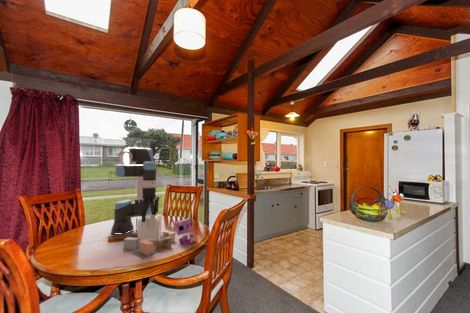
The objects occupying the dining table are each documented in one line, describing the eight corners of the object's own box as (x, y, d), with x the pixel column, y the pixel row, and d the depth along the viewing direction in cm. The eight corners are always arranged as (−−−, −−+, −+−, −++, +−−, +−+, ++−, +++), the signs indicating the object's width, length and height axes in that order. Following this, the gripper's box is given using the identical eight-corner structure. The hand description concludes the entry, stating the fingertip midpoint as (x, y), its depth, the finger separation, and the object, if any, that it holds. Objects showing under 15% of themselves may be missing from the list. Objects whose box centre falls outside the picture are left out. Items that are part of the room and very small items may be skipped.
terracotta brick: (139, 251, 129) (139, 241, 130) (145, 249, 133) (145, 239, 133) (147, 255, 125) (147, 244, 125) (153, 253, 128) (153, 242, 128)
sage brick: (141, 227, 131) (141, 217, 131) (147, 225, 134) (147, 215, 135) (149, 229, 127) (149, 219, 127) (155, 227, 130) (155, 217, 130)
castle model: (136, 242, 145) (137, 220, 145) (141, 235, 159) (141, 214, 159) (159, 241, 148) (159, 219, 148) (161, 234, 162) (162, 214, 162)
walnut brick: (158, 250, 133) (159, 241, 133) (156, 248, 136) (156, 239, 136) (171, 247, 138) (171, 238, 138) (168, 245, 141) (168, 236, 141)
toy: (190, 243, 142) (184, 221, 144) (179, 246, 143) (173, 224, 145) (196, 238, 152) (191, 217, 154) (186, 241, 154) (181, 220, 156)
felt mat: (130, 254, 127) (130, 253, 127) (149, 247, 137) (149, 246, 137) (142, 259, 120) (142, 258, 120) (161, 252, 130) (161, 251, 130)
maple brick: (162, 240, 150) (162, 231, 150) (167, 238, 153) (167, 230, 153) (170, 242, 146) (170, 233, 146) (174, 241, 149) (175, 232, 149)
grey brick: (123, 249, 134) (123, 239, 134) (127, 246, 138) (127, 237, 138) (135, 249, 134) (136, 240, 134) (139, 247, 138) (139, 237, 138)
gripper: (139, 189, 122) (138, 231, 121) (164, 186, 136) (164, 224, 135) (132, 188, 126) (131, 228, 125) (157, 185, 140) (156, 222, 140)
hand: (148, 226), depth 130 cm, fingers closed on sage brick, 4 cm apart
